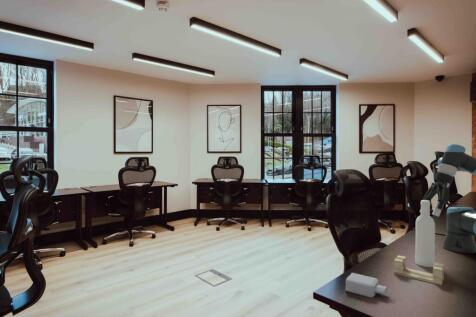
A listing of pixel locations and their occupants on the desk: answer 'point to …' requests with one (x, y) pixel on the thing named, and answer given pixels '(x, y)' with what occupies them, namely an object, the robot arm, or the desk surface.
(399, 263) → the bottle rest
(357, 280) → the white flat bottle
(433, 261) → the bottle
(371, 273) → the desk surface
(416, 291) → the desk surface
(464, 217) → the robot arm
